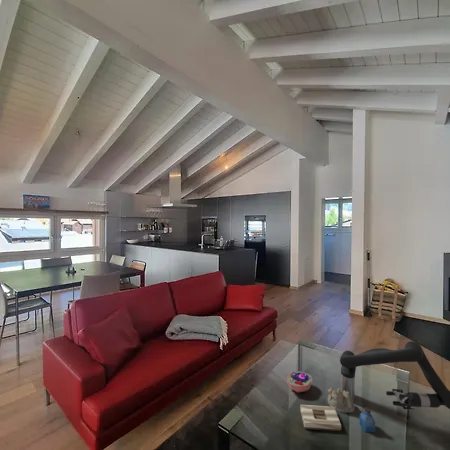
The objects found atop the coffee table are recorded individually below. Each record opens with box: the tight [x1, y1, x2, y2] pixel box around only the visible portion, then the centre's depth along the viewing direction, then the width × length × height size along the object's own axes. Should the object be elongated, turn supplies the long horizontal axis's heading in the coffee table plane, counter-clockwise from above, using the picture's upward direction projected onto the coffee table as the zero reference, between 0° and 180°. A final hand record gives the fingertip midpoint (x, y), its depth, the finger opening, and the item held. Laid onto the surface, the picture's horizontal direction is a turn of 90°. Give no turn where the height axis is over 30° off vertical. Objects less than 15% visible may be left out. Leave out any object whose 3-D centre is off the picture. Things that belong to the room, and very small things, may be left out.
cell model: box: [286, 370, 313, 393], centre depth 200 cm, size 17×20×11 cm
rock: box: [327, 387, 356, 414], centre depth 184 cm, size 16×16×15 cm
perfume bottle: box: [359, 406, 376, 433], centre depth 164 cm, size 6×6×12 cm
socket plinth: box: [299, 404, 342, 432], centre depth 171 cm, size 15×22×4 cm
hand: (389, 398), depth 162 cm, fingers open, 8 cm apart
